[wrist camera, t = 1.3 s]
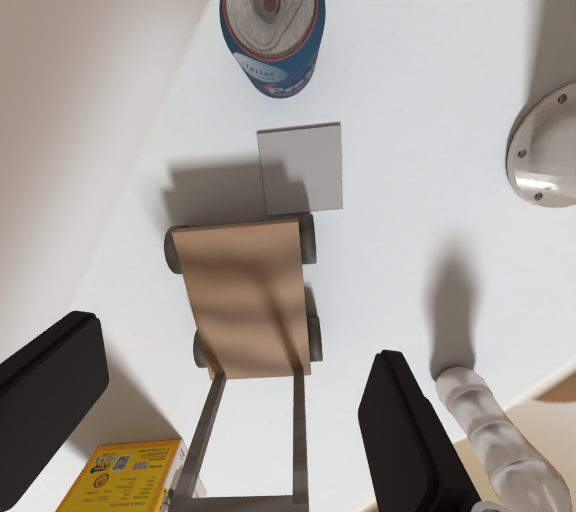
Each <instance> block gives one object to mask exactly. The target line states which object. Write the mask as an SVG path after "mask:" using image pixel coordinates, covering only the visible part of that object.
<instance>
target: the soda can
mask: <svg viewBox="0 0 576 512" xmlns="http://www.w3.org/2000/svg"><path fill="white" fill-rule="evenodd" d="M220 23H221V28H222V32H223V36H224V39H225V41H226V44H227V46H228V48H229V50H230V51H231V53H232V54H233V56H234V57H235V59H236V60H237V62H238V63H239V65H240V66H241V68H242V69H243V70H244V72H245V73H246V75H247V76H248V78H249V79H250V81H251V82H252V84H253V85H254V86H255V87H256V88H257V89H258V90H259V91H260V92H262V93H263V94H265V95H267V96H269V97H272V98H288V97H291V96H293V95H295V94H297V93H298V92H300V91H301V90H302V89H303V88H304V87H305V86H306V85H307V83H308V82H309V80H310V78H311V76H312V74H313V71H314V68H315V64H316V60H317V56H318V51H319V47H320V43H321V39H322V34H323V30H324V25H325V0H220Z"/></svg>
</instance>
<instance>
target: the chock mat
mask: <svg viewBox="0 0 576 512" xmlns="http://www.w3.org/2000/svg"><path fill="white" fill-rule="evenodd" d="M257 137H258V145H259V153H260V161H261V169H262V177H263V184H264V192H265V200H266V208H267V216H268V215H280V214H291V213H302V212H313V211H325V210H336V209H343V196H342V150H341V125H337V126H328V127H319V128H309V129H300V130H291V131H281V132H272V133H263V134H257Z"/></svg>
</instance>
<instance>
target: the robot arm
mask: <svg viewBox="0 0 576 512" xmlns="http://www.w3.org/2000/svg"><path fill="white" fill-rule="evenodd" d="M507 171H508V177H509V180H510V183H511V185H512V188H513V189H514V190H515V192H516V193H517V194H518V195H519V196H520V197H521V198H523V199H524V200H525V201H527V202H529V203H532V204H534V205H538V206H542V207H548V208H562V207H568V206H572V205H576V83H572V84H569V85H567V86H565V87H563V88H561V89H559V90H557V91H555V92H553V93H552V94H550V95H549V96H547V97H546V98H545V99H543V100H542V101H541V102H540V103H539V104H538V105H537V106H536V107H534V108H533V109H532V110H531V112H530V113H529V114H528V115H527V117H526V118H525V119H524V120H523V122H522V123H521V125H520V126H519V128H518V130H517V131H516V133H515V135H514V138H513V140H512V143H511V145H510V149H509V153H508V160H507ZM108 383H109V374H108V368H107V361H106V355H105V348H104V342H103V335H102V329H101V323H100V320H99V319H98V318H96V315H95V314H94V313H89V312H81V311H72V312H70V313H69V314H67V315H66V316H65V317H63V318H62V319H61V320H59V321H58V322H56V323H55V324H54V325H52V326H51V327H50V328H48V329H47V330H46V331H44V332H43V333H42V334H40V335H39V336H38V337H36V338H35V339H33V340H32V341H31V342H29V343H28V344H27V345H25V346H24V347H23V348H21V349H20V350H19V351H17V352H16V353H14V354H13V355H12V356H10V357H9V358H8V359H6V360H5V361H4V362H2V363H1V364H0V512H4V511H7V510H9V509H11V508H12V507H13V506H14V505H15V504H16V503H17V502H18V501H19V499H20V498H21V497H22V496H23V494H24V493H25V492H26V490H27V489H28V488H29V487H30V485H31V484H32V483H33V482H34V480H35V479H36V478H37V476H38V475H39V474H40V473H41V471H42V470H43V469H44V467H45V466H46V465H47V464H48V462H49V461H50V460H51V459H52V457H53V456H54V455H55V453H56V452H57V451H58V450H59V448H60V447H61V446H62V444H63V443H64V442H65V441H66V439H67V438H68V437H69V436H70V434H71V433H72V432H73V430H74V429H75V428H76V427H77V425H78V424H79V423H80V422H81V420H82V419H83V418H84V416H85V415H86V414H87V413H88V411H89V410H90V409H91V407H92V406H93V405H94V404H95V402H96V401H97V400H98V399H99V397H100V396H101V395H102V393H103V392H104V391H105V389H106V388H107V386H108ZM358 420H359V425H360V429H361V434H362V438H363V443H364V447H365V452H366V456H367V461H368V465H369V469H370V474H371V478H372V483H373V487H374V492H375V496H376V501H377V505H378V509H379V512H511V511H510V510H508V509H506V508H505V507H503V506H501V505H499V504H496V503H494V502H491V501H481V498H480V497H479V495H478V493H477V491H476V489H475V487H474V485H473V483H472V481H471V479H470V477H469V475H468V474H467V472H466V470H465V468H464V466H463V464H462V462H461V460H460V458H459V456H458V454H457V452H456V450H455V448H454V447H453V445H452V443H451V441H450V439H449V437H448V435H447V433H446V431H445V429H444V427H443V425H442V423H441V422H440V420H439V418H438V416H437V414H436V412H435V410H434V408H433V406H432V404H431V403H430V401H429V400H428V399H427V398H426V397H424V395H423V393H422V391H421V389H420V387H419V385H418V383H417V381H416V379H415V377H414V375H413V373H412V371H411V369H410V367H409V365H408V363H407V362H406V360H405V358H404V356H403V354H402V353H401V352H399V351H391V350H382V352H381V354H379V353H377V354H376V356H375V359H374V362H373V365H372V368H371V371H370V374H369V378H368V381H367V384H366V387H365V390H364V393H363V396H362V399H361V403H360V406H359V409H358Z"/></svg>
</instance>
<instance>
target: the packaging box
mask: <svg viewBox="0 0 576 512" xmlns="http://www.w3.org/2000/svg"><path fill="white" fill-rule="evenodd" d="M187 454H188V450H187V447H186V445H185V443H184V441H183V439H174V440H162V441H150V442H138V443H126V444H114V445H102V446H98V447H97V449H96V450H95V452H94V453H93V455H92V456H91V458H90V459H89V461H88V462H87V464H86V465H85V467H84V468H83V470H82V471H81V473H80V475H79V476H78V478H77V479H76V481H75V482H74V484H73V485H72V487H71V488H70V490H69V491H68V493H67V494H66V496H65V497H64V499H63V500H62V502H61V503H60V505H59V506H58V508H57V510H56V511H55V512H167V511H168V508H169V505H170V502H171V499H172V496H173V493H174V491H175V488H176V485H177V482H178V479H179V476H180V474H181V471H182V468H183V465H184V462H185V459H186V456H187ZM205 497H206V491H205V488H204V486H203V484H202V482H201V479H200V477H199V475H198V479H197V482H196V486H195V489H194V492H193V496H192V498H205Z"/></svg>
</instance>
